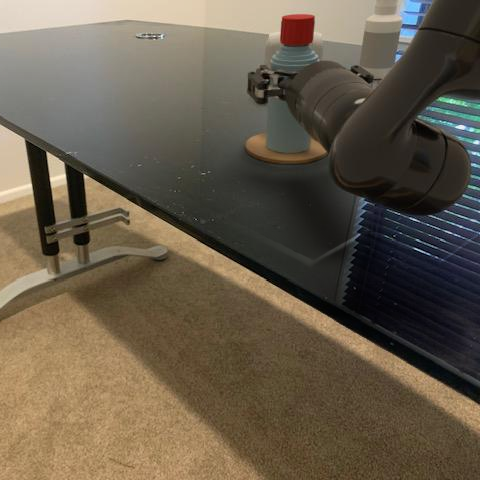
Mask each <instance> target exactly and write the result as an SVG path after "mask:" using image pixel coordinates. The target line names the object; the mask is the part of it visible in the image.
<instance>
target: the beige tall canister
mask: <svg viewBox="0 0 480 480" xmlns="http://www.w3.org/2000/svg"><path fill="white" fill-rule="evenodd" d="M398 3H399V0H376V1H375V4H374V5H375V6H374V12H373V14H371V15H370V16H368V17H367V18H366V19H365V24H364V28H363V29H364V30H363V37H362V42H361V43H362V45H361V51H360V58H359V64H358V66H361V67H362V68H364V69H365V70H366V71H368V72H369V73H371V74H372V75H373V76H374V78H373V80H382V79H383V78H384V76H385V75H386V74H387V73H388V72H389V70H390V69H391V68H392V67H393V66H394V64H395V63H396V59H397V53H398V47H399V42H400V38H401V37H400V36H401V30H402V25H403V18H402V17H401V16H400V15H398V13H397V12H398V11H397V10H398Z"/></svg>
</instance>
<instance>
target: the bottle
mask: <svg viewBox="0 0 480 480" xmlns="http://www.w3.org/2000/svg"><path fill="white" fill-rule="evenodd" d="M318 61H320V60H319V59H318V55H316V54H315V51H313V50H312V48H311V47H309V44H306V45H285V44H283V47H281V48H280V49H279V51H277V52H276V54H275V55H273V56H272V59H271V61H270V70H271V71H276V70H279V69H288V70H293V71H298V70H302V69H303V68H305V67H306V66H308V65H310V64H312V63H314V62H318ZM286 78H288V77H286V76H284V80H285V79H286ZM270 85H271V86H273V78H271V77H270ZM265 130H266V131H265V133H266V147H267V148H269V149H270V150H273V151H276V152H281V153H298V152H303V151H306V150H308V149H309V148H310V146H311V136H310V135H309V134H308V133H307V132H306V131H305V130H304V128H303V127H302V126H301V125H300V124H299V123H298V121H297V120H296V119H295V118H294V117H293V115H292V114H291V112H290V110H289V108H288V105H287V102H285V101H282V100H280V99H276V98H274V97H268V100H267V115H266V129H265Z"/></svg>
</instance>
